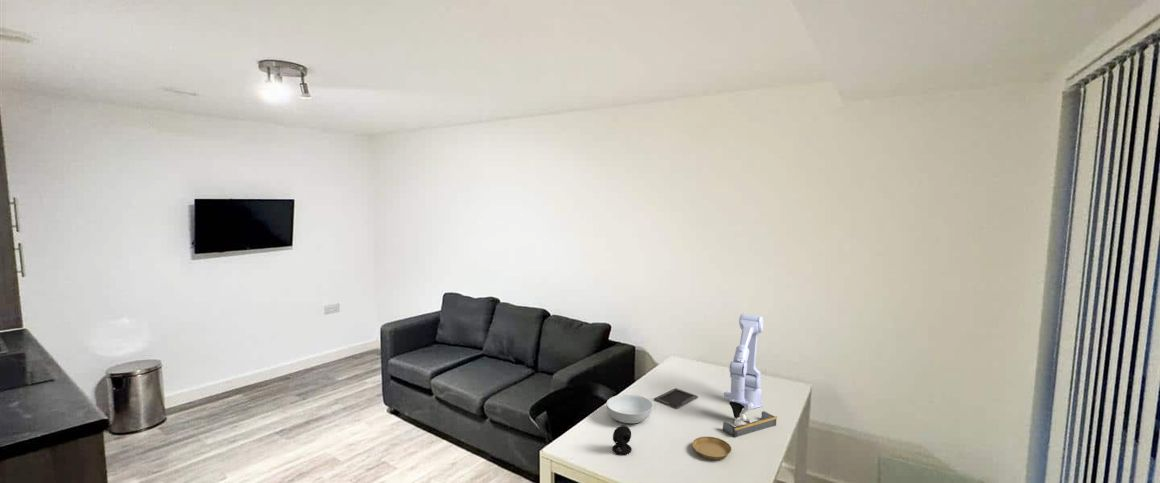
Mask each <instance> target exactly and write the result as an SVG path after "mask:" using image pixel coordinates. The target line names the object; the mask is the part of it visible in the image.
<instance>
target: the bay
mask: <svg viewBox="0 0 1160 483" xmlns="http://www.w3.org/2000/svg"><path fill="white" fill-rule="evenodd" d="M777 420H778V416H775V415H772V414H770V413H769V412H767V411H765V410H763V411H761V417H760V419H758V420H754V421H751V423H749V422H748V423H743V424H744V425H740V426H734V425H732V424H731V423H729V422H727V421H723V422H722V431H724V432H725V433H726V434H728V435H729V436H731V437H734V438H738V437H741V436H744V435H747V434H751V433H755V432H757V431H758V432H759V431H763V430H764V429H768V428H772V427H775V426H777Z"/></svg>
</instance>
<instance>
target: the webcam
mask: <svg viewBox="0 0 1160 483" xmlns="http://www.w3.org/2000/svg"><path fill="white" fill-rule="evenodd" d="M631 438H632V430H631V429H630V427H628V426H627V425H619V426H618V427H616V428H615V429H614V431H613V434H612V440H613V442H614V445H613V446H612V449H611V450H612V452H613V453H614V452H615V453H616V455H618V454H619V456H627V454H628V455H630V454H631V452H632V450H633V449H632V447H631V445H629V442H630V441H631ZM617 447H618V448H619V449H618V448H617ZM615 453H614V454H615ZM629 453H630V454H629Z"/></svg>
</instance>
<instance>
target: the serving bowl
mask: <svg viewBox="0 0 1160 483" xmlns="http://www.w3.org/2000/svg"><path fill="white" fill-rule="evenodd" d="M605 404H606V410H607V412H608V414H609V416H610V417H612V419H614V420H615V421H617V422H621V423H623V424H637V423H641V422H643V421H646V420H647V419H648V418H649V417H650V416H651V414H652V413H653V412H652V411H653V408H654V407H653V406H654V404H653V402H652V401H651V400H650V399H649V398H647V397H645V396H641V395H636V394H617V395H615V396H612V397H610V398H609V399H607V401H606V403H605Z"/></svg>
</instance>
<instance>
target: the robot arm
mask: <svg viewBox="0 0 1160 483" xmlns="http://www.w3.org/2000/svg"><path fill="white" fill-rule="evenodd" d="M738 319H739V320H738V322H739V327H740V329H741V333H740V334H741V336H740V341H739V345H737V346H736V348H735V352H734V355H733V359H732V361H730V364H729V376H730V391H728V390H727V391H724V392H723V396H724V398H728V399H729V401H728V402H729V403H728V404H729V405H730V408H731V409H732V413H733V418H734V419H736V418H738V417H740V413H741V412H742V410H743V409H744V408H745V407H746V408H747V409H750V408H751V403H752V404H753V408H752V409H751V410H754V409H758V408H761V407H764V405H763V404H762V403H763V390H762V389H761V386H762V372H761V371H760V370H759V369H758V368H757V367H756V365H757V364H756V363H757V354H758V353H757V352H758V342H759V341H758V338H759V335H760V334H762V333H763V331H764V330H763V329H764V322H765V321H764V317H763V316H762V315H757V314H756V315H755V314H747V313H744V312H742V313H741V314H740V315H739V318H738Z"/></svg>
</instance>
